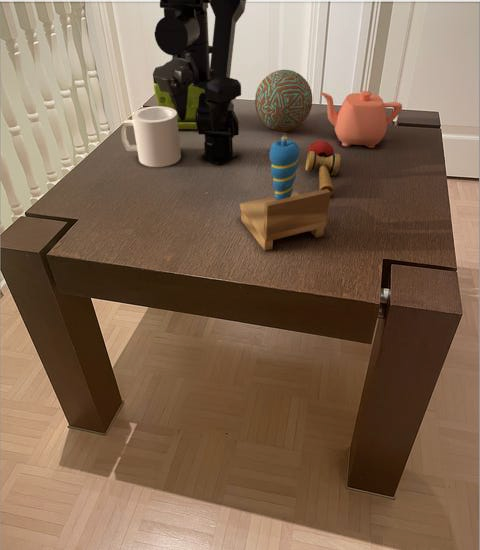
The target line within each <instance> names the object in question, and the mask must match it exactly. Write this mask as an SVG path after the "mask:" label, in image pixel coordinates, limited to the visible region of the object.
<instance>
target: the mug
mask: <svg viewBox="0 0 480 550" xmlns="http://www.w3.org/2000/svg"><path fill="white" fill-rule="evenodd" d="M127 127H133V132H134V137H135V138H134V139H135V143H136V144H131V143H130V142H129V140H128V138H127ZM120 137H121V142H122V145H123V146H124V149H125V150H126V152H137V156H138V161H139V163H140V164H142V165H143V166H146V167H150V168H162V167H168V166H172V165H175V164H176V163H178V162H179V161H180V160H181V158H182V153H181V143H180V131H179V129H178V121H177V112H176V111H175V110H174V109H172V108H169V107H162V106H159V105H156V106H154V105H153V106H147V107H142V108H140V109H137V110H135V111H134V112H133V113H132V115H131V119H125V120H124V121H123V124H122V127H121V130H120Z"/></svg>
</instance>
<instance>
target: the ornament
mask: <svg viewBox="0 0 480 550" xmlns="http://www.w3.org/2000/svg"><path fill="white" fill-rule="evenodd" d="M284 135H285V136H284ZM300 153H301V148H300V146H299V145H298V143H297V142H295V141H294V140H291V139H288V136H287V134H285V133H283V134H282V137H281V139H279V140H276V141H274V142H273V144H271V147H270V150H269V160H270V163H271V165H270V172H271V175H272V177H273V178H272V187H273V189H274V195H273V196H274V197H275V200H280V199H284V198H288V197H291V194H292V192H293V190H294V186H293V185H294V183H295V181H296V177H297V173H296V172H297V170H298V168H299V164H300V162H299V156H300Z"/></svg>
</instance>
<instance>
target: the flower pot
mask: <svg viewBox="0 0 480 550" xmlns="http://www.w3.org/2000/svg"><path fill="white" fill-rule="evenodd" d="M153 89H154V95H155V100H156V103H157V106H162V107H169V108H172V109H174V110H175V111H176V109H175V107H174V104H173V102H172V100H171V98H170V96H169V94H168V93H166V92H162V91H160V89H159V87H158V84H155V83H154V82H153ZM204 92H205V89H201V88H198V87H194V86H191V85H190V86H189V87H188V98H187V111H186V118H185V120H183V121H181V120H180V118H179V116H178V114H177V121H178V130H198V129H197V124H196V119H195V115H196V110H197V108H198V104H199V96H200V94H201V93H204ZM176 112H177V111H176Z"/></svg>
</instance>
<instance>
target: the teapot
mask: <svg viewBox="0 0 480 550" xmlns="http://www.w3.org/2000/svg"><path fill="white" fill-rule="evenodd" d="M320 94H321V95H322V96H323V98H324V99H325V101H326V105H327V106H326V107H327V119H328V121H329V123H330V124H331V125H332V126H334V133H335V135H336V137H337V139H338V140H339V142H341V145H342V146H344V147H351V146H352V145H355V146H356V145H357V146H365V147H366V148H369V149H373V148H375V147H376V145H378V144H379V143H380V142H382V140H383V138H384V137H385V135H386V132H387V126H389V124H391V123H392V122H393V121H394V120H395V119H396V118H397V117H398V116H399V115H400V113H401V112H402V109H403V104H402V103H401V102H397V101H392V102H384V100H383V98H382V97H381V96H380V95H378V94H374V93H372V92H371V91H368V90H362V91H359V93H358V92H357V93H354V92H353V93H349V94H348V95H347V96H346V97H345V98H344V100H343V102H342V104H341V105H340V107H339V109H338V112H337V111H336V110H335V107H334V99H333V97H332V95H331V94H329V93H325V92H320ZM386 108H393V110H392V112H391V114H390V115H389V116H388V118H387V112H386Z"/></svg>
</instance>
